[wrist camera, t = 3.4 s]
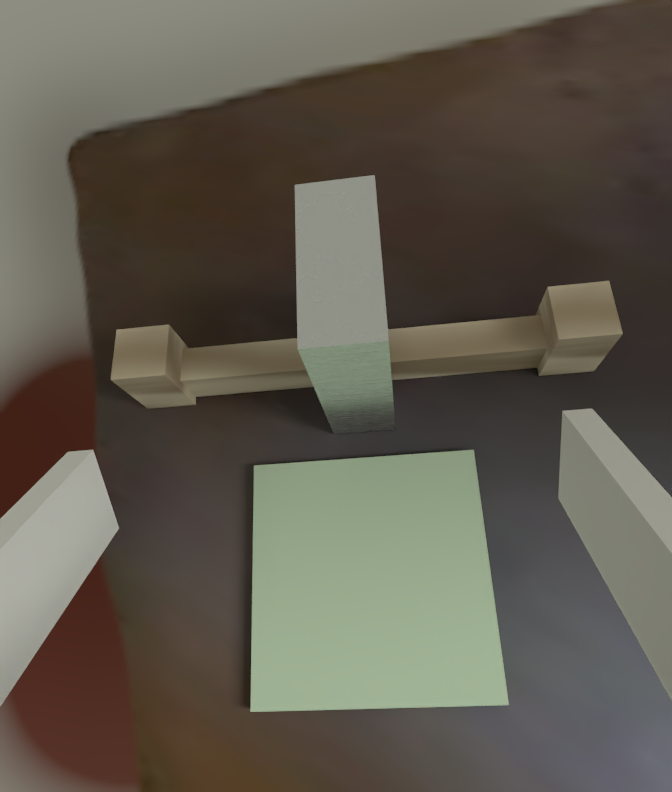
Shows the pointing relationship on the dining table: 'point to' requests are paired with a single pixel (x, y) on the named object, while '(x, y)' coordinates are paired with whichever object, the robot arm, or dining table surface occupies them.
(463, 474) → the pad
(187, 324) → the dining table surface
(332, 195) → the tall grey upright block
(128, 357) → the rail stand
